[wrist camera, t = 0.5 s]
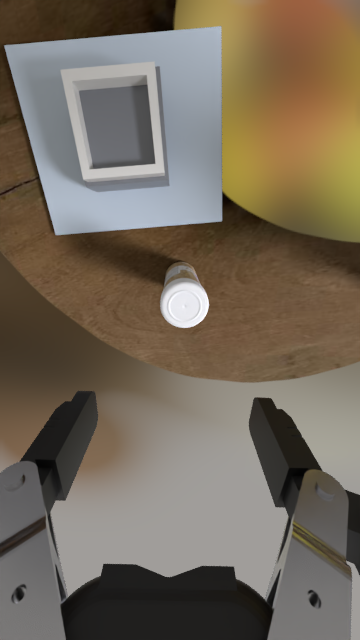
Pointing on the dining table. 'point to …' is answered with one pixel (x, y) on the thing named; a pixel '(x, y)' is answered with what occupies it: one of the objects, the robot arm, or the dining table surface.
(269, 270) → the dining table surface
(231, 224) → the dining table surface
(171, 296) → the sprinkles bottle
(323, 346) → the dining table surface
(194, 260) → the dining table surface
